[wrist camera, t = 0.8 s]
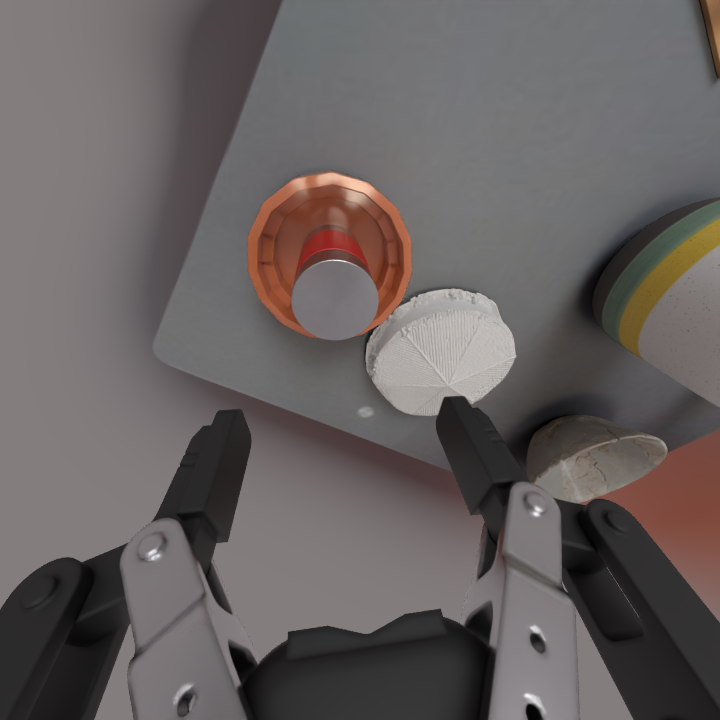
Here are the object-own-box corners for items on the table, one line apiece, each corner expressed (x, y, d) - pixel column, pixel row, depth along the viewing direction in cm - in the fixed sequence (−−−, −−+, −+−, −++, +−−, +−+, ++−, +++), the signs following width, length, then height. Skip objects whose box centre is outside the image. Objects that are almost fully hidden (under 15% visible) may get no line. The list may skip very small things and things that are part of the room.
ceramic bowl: (548, 467, 63) (580, 511, 55) (477, 451, 55) (503, 500, 47) (639, 407, 52) (695, 452, 44) (566, 377, 44) (619, 425, 36)
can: (289, 265, 27) (274, 315, 19) (321, 209, 25) (320, 238, 16) (340, 296, 30) (346, 353, 21) (373, 249, 27) (397, 293, 19)
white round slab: (525, 346, 39) (558, 377, 33) (419, 417, 46) (431, 451, 41) (455, 248, 29) (485, 269, 23) (333, 358, 36) (335, 393, 31)
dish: (236, 273, 28) (221, 292, 24) (304, 126, 21) (300, 120, 18) (348, 336, 34) (351, 359, 30) (427, 237, 28) (444, 251, 24)
